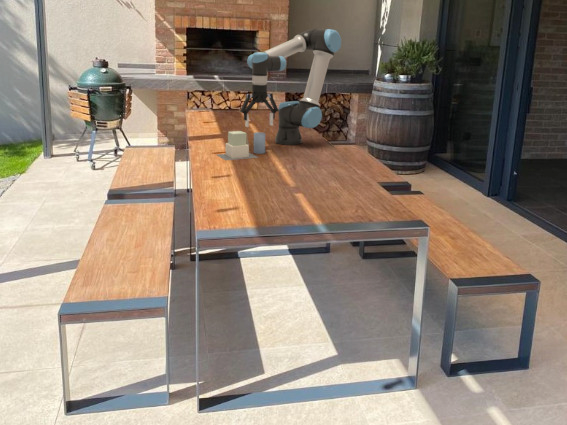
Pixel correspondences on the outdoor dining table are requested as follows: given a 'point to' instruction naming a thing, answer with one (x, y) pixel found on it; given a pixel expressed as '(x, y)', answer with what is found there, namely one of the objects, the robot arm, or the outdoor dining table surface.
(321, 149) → the outdoor dining table surface
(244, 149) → the tower base
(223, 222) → the outdoor dining table surface
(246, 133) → the beige rounded lump
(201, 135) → the outdoor dining table surface
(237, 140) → the tower top
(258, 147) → the grey rounded cylinder
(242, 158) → the mat
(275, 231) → the outdoor dining table surface
